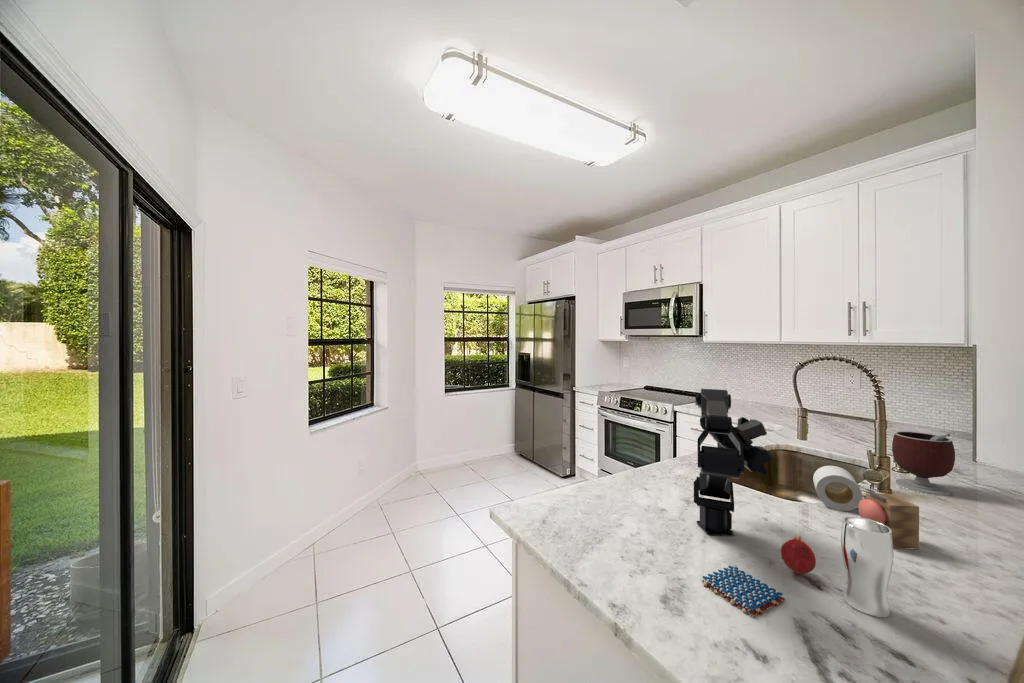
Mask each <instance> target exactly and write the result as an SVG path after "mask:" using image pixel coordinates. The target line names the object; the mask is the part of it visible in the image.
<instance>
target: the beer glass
mask: <svg viewBox="0 0 1024 683" xmlns="http://www.w3.org/2000/svg"><path fill="white" fill-rule="evenodd" d="M841 523H842V526H841V534H840V535H841V537H840V542H841V543H840V546H841V553H842V558H843V563H844V564H843V565H844V568H845V573H846V585H845V586H846V587H845V590H844V594H843V597H844V601H845V602H846V603H847V604H848V605H849V606H851V607H852V608H853V609H855V610H857V611H859V612H861V613H862V614H866V615H868V616H872V617H876V618H887V617H889V616H890V614H891V611H890V610H891V609H890V606H889V600H888V596H887V595H888V594H887V593H888V587H889V586H888V585H889V581H890V578H891V574H892V570H893V565H894V554H895V553H894V548H893V540H892V530H891V529H890V528H889V527H888V526H886V525H884V524H882V523H879V522H877V521H874V520H871V519H867V518H862V517H861V516H853V515H848V516H844V517H842V522H841Z"/></svg>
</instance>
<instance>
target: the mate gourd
mask: <svg viewBox="0 0 1024 683" xmlns="http://www.w3.org/2000/svg"><path fill="white" fill-rule="evenodd" d="M949 437H951V434H950V433H943V434H934V433H926V432H918V431H903V430H901V431H894V435H893V438H892V442H891V443H892V444H891V447H892V448H891V451H892V456H893V460H894V462H895V463H896V464H897V466H898V467H900V469H901V470H904V471H905V472H907V473H910V474H911V475H913V476H915V478H914V479H913V478H898V479H895V484H896V485H897V486H899V487H901V488H903V487H904V488H903V489H906V488H908V489H907V490H909V489H911V490H910V491H912V490H915V491H914V492H916V491H919V492H918V493H920V492H922V493H921V494H925V493H927V494H926V495H931V494H934V495H933V496H941V495H944V496H945V495H946V496H950V495H952V491H951V489H949V488H947V487H946V486H942V485H939V484H936V483H932V482H930V480H929V479H930V478H943V477H946V476H947V475H948V474H949V473H950V472H952V471H953V469H954V465H955V462H956V451H955V445H954V442H953V439H952V438H949Z"/></svg>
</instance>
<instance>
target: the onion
mask: <svg viewBox="0 0 1024 683" xmlns="http://www.w3.org/2000/svg"><path fill="white" fill-rule="evenodd" d="M780 555H781V559H782V560H783V562H784V564H785V565H786V567H787V568H788V569H789V570H791V571H792V572H793V573H795V575H799V576H800V575H804V574H808V573H811V572H813V570H814V569H815V567H816V565H817V558H816V555H815V553H814V551H813V549H812V548H811V547H810V546H809V545H808V544H807V543H806V542H805V541H803V539H802V538H801V536H800V535H798V534H796V535H794V537H793V538H792V539H789V540H787V541H785V542H784V543H783V544H782V545H781V547H780Z"/></svg>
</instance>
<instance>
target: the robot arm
mask: <svg viewBox="0 0 1024 683" xmlns="http://www.w3.org/2000/svg"><path fill="white" fill-rule="evenodd" d="M694 398H695V404H694V405H695V406H697V408H700V414H701V416H700V417H699V425H700V427H701V429H702V430H703V431H702V432H701V433H700V435H699V436H698V437H697V445H696V446H697V448H696V449H697V468H700V472H699V473H698V476H696V478H695V480H694V481H693V503H694V504H696V506H697V507H699V520H696V524H697V525H698V526H699V527H700V528H701V529H702V530H703V531H704V532H705V534H707V535H708V536H734V532H733V530H732V528H733V525H732V524H733V518H732V516H733V514H732V513H734V512H735V499H734V498H735V497H734V484H733V481H731V479H735V480H738V479H740V478H741V474H745V468H746V469H747V470H749V471H750V472H751V473H756V472H757V473H759V474H761V475H763V476H766V475H768V473H769V471H768V470H767V468H766V467H765V465H766V464H767V463H768V462H769V461H770V460H771V459H772V458H773V455H772V454H771V452H769V451H768V450H767V449H766V448H764V447H762V446H760V445H752V444H753V443H754V441H753V440H755V439H757V438H759V437H762V436H763V437H764V436H767V434H768V432H767V430H766V428H765V426H764V424H763V422H762V421H760V420H757V419H752V418H750V419H748V418H747V417H744V416H741V417H739V418H737V425H736V426H734V425H733V419H732V417H731V416H729V415H728V414H729V410H730V409H731V408H732V396H731V394H730V393H729V392H728V389H716V388H715V389H714V388H701V389H700V392H697V394H696V396H695V397H694ZM708 435H710V436H711V437H712V439H713V440H714V441H715V442H717V444H716V445H717V446H709V445H702V444H703V443H704V441H705V440H706V438H707V437H708ZM701 445H702V446H701ZM700 496H701V497H700ZM702 496H705V497H702ZM707 497H708V498H707ZM710 497H711V498H710ZM714 498H716V499H714ZM720 499H722V500H720ZM725 500H729V501H725ZM731 512H732V513H731Z"/></svg>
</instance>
